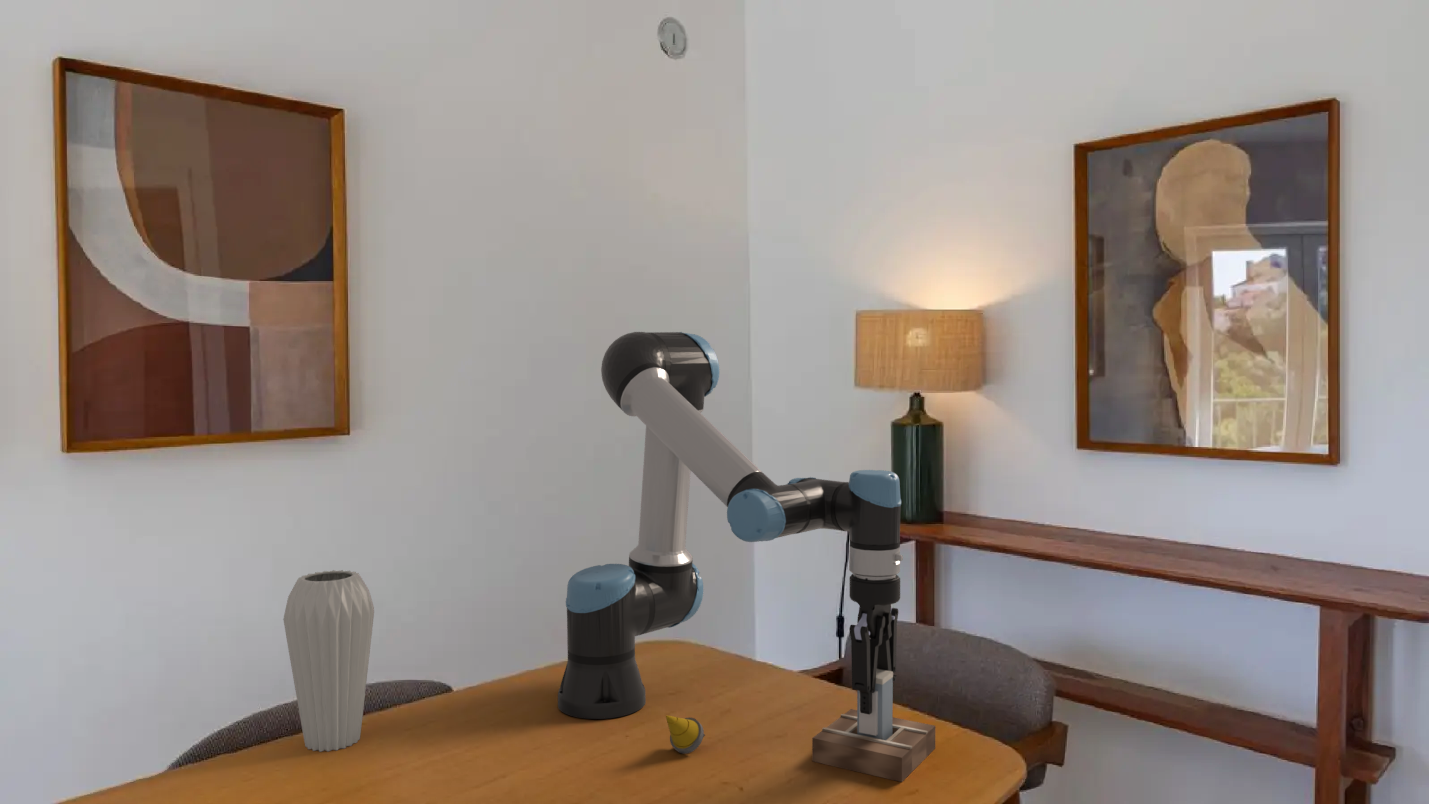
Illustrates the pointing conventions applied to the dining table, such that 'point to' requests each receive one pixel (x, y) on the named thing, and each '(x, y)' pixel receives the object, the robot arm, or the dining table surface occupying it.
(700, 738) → the yellow spinning top
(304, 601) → the vase
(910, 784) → the dining table surface
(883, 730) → the peg
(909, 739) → the socket block
